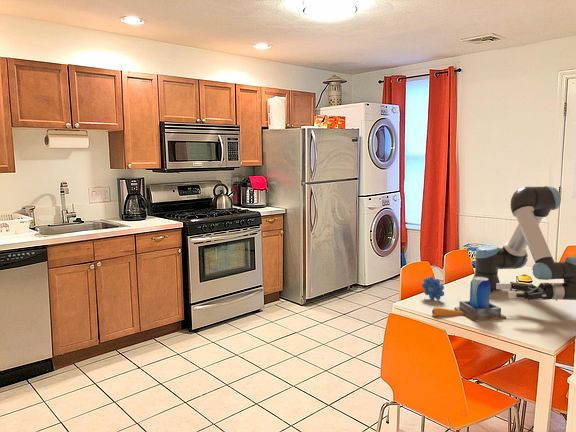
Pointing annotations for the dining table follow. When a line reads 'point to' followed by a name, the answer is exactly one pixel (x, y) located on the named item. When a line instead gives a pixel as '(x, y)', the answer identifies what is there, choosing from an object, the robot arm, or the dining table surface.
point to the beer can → (480, 293)
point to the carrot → (445, 312)
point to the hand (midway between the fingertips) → (502, 290)
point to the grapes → (433, 288)
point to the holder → (480, 312)
